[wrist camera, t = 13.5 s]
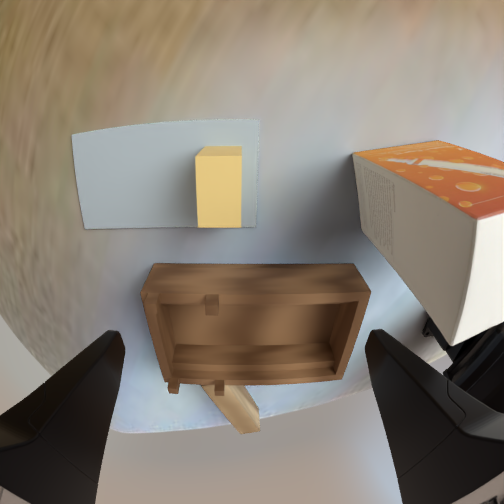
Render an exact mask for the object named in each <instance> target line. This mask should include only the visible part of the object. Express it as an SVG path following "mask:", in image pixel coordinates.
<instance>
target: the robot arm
mask: <svg viewBox="0 0 504 504" xmlns="http://www.w3.org/2000/svg"><path fill="white" fill-rule="evenodd" d="M422 334H423V336H424V337H428V336H434V337H435V339H436V340H437V342H438V343H439V345H440V346H441V348H442V349H443V350H444V351H446V352H447V354H448V355H449V357H450V358H451V360H452V361H453V364H452V365H451V366H450V367H449V368H448V369H446V370H445V371H444V372H443V375H444V376H443V375H442V374H441V373H439V372H438V371H437V370H435V369H434V368H433V367H431V366H430V365H429V364H428V363H426V362H425V361H424V360H422V359H421V358H420V357H418V356H417V355H416V354H414V353H413V352H412V351H410V350H409V349H408V348H407V347H405V346H404V345H403V344H401V343H400V342H399V341H397V340H396V339H395V338H393V337H392V336H391V335H389V334H388V333H387V332H385V331H384V330H382V329H376V330H372V331H371V332H370V334H369V337H368V340H367V342H366V345H365V354H366V358H367V363H368V368H369V373H370V378H371V383H372V387H373V391H374V394H375V397H376V401H377V404H378V407H379V411H380V414H381V418H382V421H383V425H384V428H385V431H386V435H387V439H388V443H389V447H390V450H391V454H392V458H393V462H394V466H395V470H396V474H397V478H398V484H399V489H400V493H401V498H402V503H403V504H504V322H502V323H500V324H498V325H495V326H493V327H491V328H489V329H487V330H485V331H483V332H481V333H479V334H477V335H475V336H473V337H471V338H469V339H467V340H464V341H462V342H460V343H458V344H456V345H454V346H450V345H449V344H448V342H447V341H446V339H445V338H444V336H443V334H442V333H441V331H440V330H439V328H438V327H437V326H436V324H435V323H434V321H433V320H432V318H431V317H429V319H428V321H427V324H426V326H425V328H424V330H423V332H422ZM124 357H125V346H124V343H123V340H122V337H121V335H120V333H119V331H114V330H108V331H106V332H105V333H104V334H103V335H101V336H100V337H99V338H98V339H96V340H95V341H94V342H93V343H91V344H90V345H89V346H88V347H87V348H85V349H84V350H83V351H82V352H80V353H79V354H78V355H77V356H76V357H74V358H73V359H72V360H71V361H69V362H68V363H67V364H66V365H65V366H63V367H62V368H61V369H60V370H59V371H57V372H56V373H55V374H54V375H53V376H51V377H50V378H49V379H48V380H47V381H45V383H43V384H42V385H41V386H39V387H38V388H37V389H36V390H35V391H33V392H32V393H31V394H30V395H28V396H27V397H26V398H24V399H23V400H22V401H20V402H19V403H17V404H16V405H14V406H13V407H12V408H10V409H9V410H7V411H6V412H5V413H3V414H2V415H0V504H95V500H96V493H97V488H98V484H97V483H98V481H99V475H100V470H101V465H102V459H103V454H104V449H105V445H106V440H107V436H108V432H109V427H110V423H111V419H112V415H113V411H114V407H115V403H116V399H117V395H118V391H119V387H120V381H121V375H122V369H123V363H124Z"/></svg>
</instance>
